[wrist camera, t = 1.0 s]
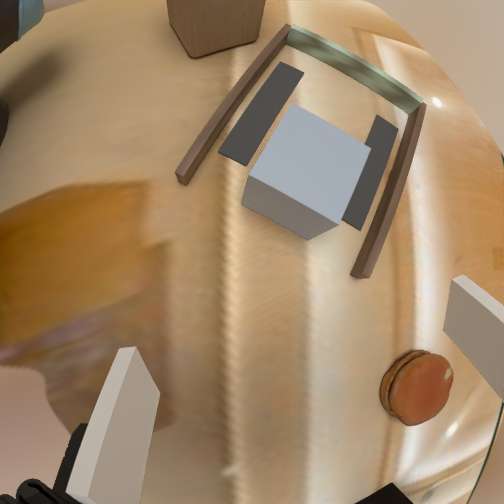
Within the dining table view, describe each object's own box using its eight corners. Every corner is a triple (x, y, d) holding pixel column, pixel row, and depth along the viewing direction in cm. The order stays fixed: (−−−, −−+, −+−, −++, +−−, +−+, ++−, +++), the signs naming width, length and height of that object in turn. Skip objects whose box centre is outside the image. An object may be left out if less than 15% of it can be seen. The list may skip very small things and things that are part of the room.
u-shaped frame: (178, 181, 31) (174, 170, 28) (282, 37, 35) (286, 21, 31) (357, 278, 32) (371, 277, 29) (415, 114, 36) (428, 103, 32)
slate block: (240, 204, 32) (248, 174, 23) (274, 145, 33) (292, 102, 24) (307, 240, 32) (338, 224, 23) (336, 179, 33) (371, 148, 24)
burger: (365, 399, 31) (383, 412, 27) (408, 334, 33) (431, 340, 28) (410, 427, 32) (429, 439, 27) (447, 369, 33) (469, 376, 28)
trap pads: (217, 152, 32) (217, 151, 32) (280, 62, 34) (280, 61, 34) (359, 230, 33) (360, 230, 33) (397, 129, 35) (398, 129, 35)
